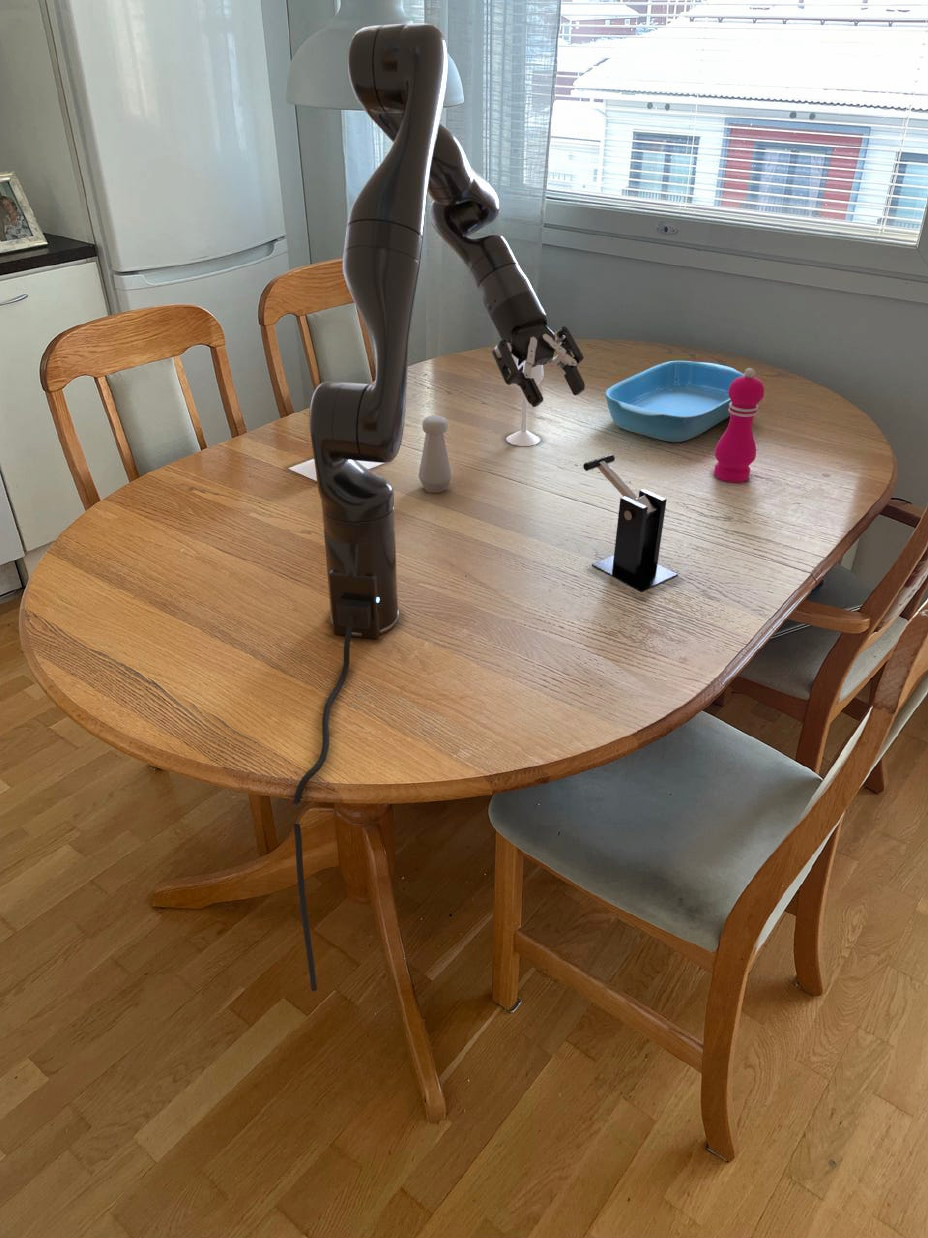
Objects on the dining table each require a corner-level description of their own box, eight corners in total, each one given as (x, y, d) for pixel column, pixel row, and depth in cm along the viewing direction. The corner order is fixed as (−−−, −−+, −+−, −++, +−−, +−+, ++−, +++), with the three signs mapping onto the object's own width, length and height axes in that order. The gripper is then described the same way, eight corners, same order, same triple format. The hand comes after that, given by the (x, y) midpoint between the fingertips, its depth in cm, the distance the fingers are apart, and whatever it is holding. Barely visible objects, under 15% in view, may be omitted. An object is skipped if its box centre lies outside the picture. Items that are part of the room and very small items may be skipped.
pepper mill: (706, 478, 168) (724, 370, 157) (716, 464, 173) (734, 359, 163) (746, 486, 165) (767, 377, 154) (755, 472, 171) (776, 365, 160)
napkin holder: (327, 486, 164) (325, 456, 161) (287, 468, 170) (284, 439, 167) (388, 461, 173) (387, 432, 170) (347, 445, 180) (345, 417, 177)
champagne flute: (545, 443, 182) (553, 319, 169) (514, 447, 179) (519, 323, 166) (531, 431, 187) (537, 310, 174) (500, 435, 185) (504, 313, 172)
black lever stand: (591, 571, 139) (598, 493, 132) (627, 555, 143) (636, 479, 136) (640, 598, 133) (651, 518, 126) (677, 581, 137) (689, 503, 130)
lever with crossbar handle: (580, 469, 135) (586, 458, 134) (606, 460, 138) (612, 449, 136) (631, 527, 131) (638, 516, 129) (657, 516, 134) (664, 505, 132)
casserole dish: (681, 457, 176) (686, 421, 172) (584, 429, 188) (586, 395, 184) (764, 407, 200) (770, 374, 196) (672, 384, 212) (677, 353, 208)
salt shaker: (447, 496, 161) (447, 425, 154) (415, 493, 162) (414, 422, 155) (454, 482, 166) (454, 413, 158) (423, 479, 166) (422, 410, 159)
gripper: (487, 296, 132) (537, 395, 131) (559, 282, 140) (607, 376, 138) (464, 325, 138) (511, 420, 137) (534, 310, 146) (579, 400, 145)
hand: (559, 398), depth 138 cm, fingers open, 8 cm apart
